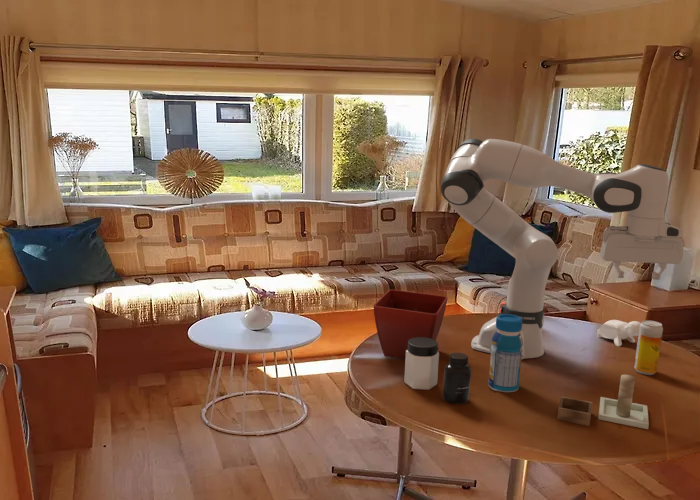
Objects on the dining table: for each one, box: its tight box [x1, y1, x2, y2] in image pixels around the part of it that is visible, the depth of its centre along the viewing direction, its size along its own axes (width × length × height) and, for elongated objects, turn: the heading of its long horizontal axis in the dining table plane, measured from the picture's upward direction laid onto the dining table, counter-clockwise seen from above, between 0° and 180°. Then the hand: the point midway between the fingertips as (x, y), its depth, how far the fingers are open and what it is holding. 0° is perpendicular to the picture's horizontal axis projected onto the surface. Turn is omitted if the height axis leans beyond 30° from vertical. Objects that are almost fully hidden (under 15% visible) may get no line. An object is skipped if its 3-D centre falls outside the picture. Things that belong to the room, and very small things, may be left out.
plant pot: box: [373, 289, 449, 360], centre depth 190 cm, size 19×19×17 cm
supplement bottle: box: [441, 352, 472, 405], centre depth 160 cm, size 7×7×12 cm
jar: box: [403, 337, 440, 391], centre depth 168 cm, size 9×8×12 cm
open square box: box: [556, 395, 593, 427], centre depth 152 cm, size 7×7×4 cm
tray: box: [598, 396, 650, 430], centre depth 154 cm, size 11×11×2 cm
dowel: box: [616, 373, 636, 418], centre depth 153 cm, size 3×3×10 cm
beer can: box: [634, 319, 664, 376], centre depth 181 cm, size 6×6×15 cm
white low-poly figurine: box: [595, 319, 642, 347], centre depth 206 cm, size 9×8×15 cm
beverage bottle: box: [487, 314, 523, 393], centre depth 166 cm, size 8×8×20 cm
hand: (637, 278), depth 165 cm, fingers open, 8 cm apart
